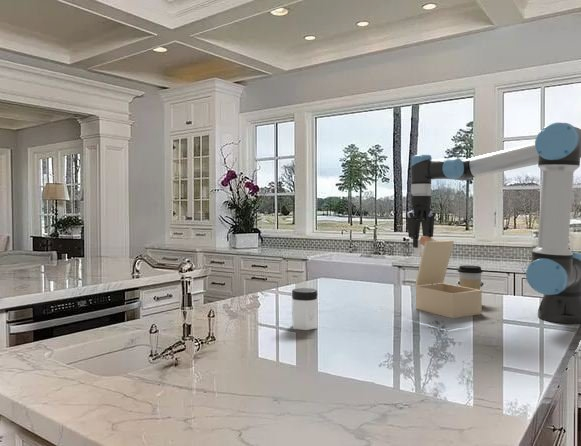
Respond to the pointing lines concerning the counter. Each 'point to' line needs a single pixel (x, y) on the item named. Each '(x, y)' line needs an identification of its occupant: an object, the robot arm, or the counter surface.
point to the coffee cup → (470, 276)
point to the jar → (304, 309)
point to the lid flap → (433, 261)
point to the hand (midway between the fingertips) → (420, 255)
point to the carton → (449, 300)
